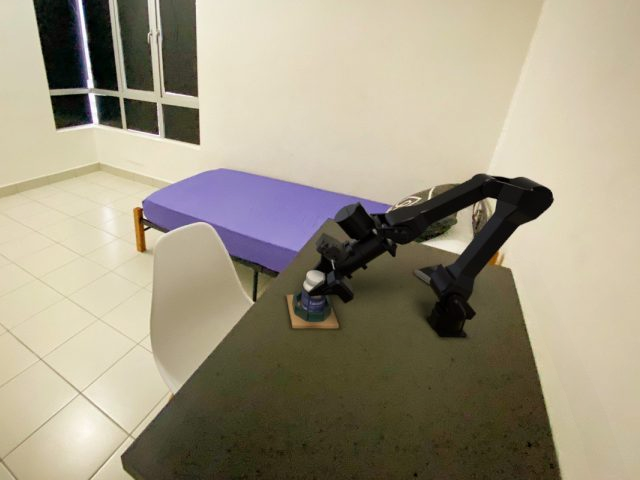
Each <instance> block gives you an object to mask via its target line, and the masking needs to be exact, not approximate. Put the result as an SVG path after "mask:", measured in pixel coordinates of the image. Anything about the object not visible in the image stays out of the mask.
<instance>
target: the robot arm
mask: <svg viewBox="0 0 640 480" xmlns="http://www.w3.org/2000/svg"><path fill="white" fill-rule="evenodd" d="M486 199H493V200H495V201H496V202H495V208H494V211H493V214H492V215H491V216H490V217H489V219H488V220H487V221H486V222H485V223H484V225H483V226H482V227H481V228H480V230H479V231H478V233H476V235H475V236H474V237H473V239H471V241H470V242H469V244H468V245H467V246H466V248H465V249H464V250H463V251H462V252H461V254H460V255H459V256H458V257H457V258H456V260H455V261H454V262H453V263H451V264H448V265H444V264H442V263H440V264H439V265H438V267H437V269H436V270H435V272H434V273H432V274H431V275H430V276H431V279H430V284H429V285H430V288H431V290H432V292H433V293H434V295H435V297H436V298H437V300H438V301H435V304H434V307H432V309H431V312H430V315H427V316H426V320H427V321H428V322H429V324H430V325H431V327H432V328H433V329H434V331H435V332H436V334H438V336H439V337H441V338H466V337H467V335H468V334H467V333H466V332H465V331H464V327H465V323H466V321H471V320H472V319H473V318H474V317H476V315H477V312H476V311H475V309H474V308H473V306H472V305H471V304H470V303H469V300H470V299H471V296H472V295H473V294H474V293H473V292H474V286H475V280H476V278H477V276H478V275H479V274H480V273H481V272H482V270H483V269H484V268H485V267H486V266H487V265H488V263H489V262H490V261H491V260H492V259H493V258H494V256H495V255H496V254H497V253H498V252H499V251H500V249H501V248H502V247H503V246H504V245H505V244H506V243H507V241H508V240H509V239H510V238H511V236H512V235H513V234H514V233H515V232H516V231H517V229H518V228H519V227H520V226H523V225H525V224H528V223H530V222H533V221H535V220H537V219H538V218H540V216H542V215H543V214H544V213H545V212H546V211H547V210H549V209H550V208H551V207H552V205H553V203H554V202H555V198H554V194H553V191H552V189H550V188H549V187H547V186H545V185H543V184H541V183H539V182H537V181H535V180H533V179H531V178H528V177H525V176H517V177H516V176H515V177H506V176H502V175H492V174H491V175H490V174H487V173H482V172H481V173H476V174H474V175H473V176H472V177H471V178H470V179H467V180H465V181H464V182H461V183H460V184H457V185H455V186H453V187H451V188H449V189H448V190H445V191H443V192H442V193H439V194H437V195H435V196H433V197H431V198H429V199H427V200H425V201H423V202H421V203H417V204H415V205H404V206H401V207H398V208H394V209H392V210H390V211H388V212H375V213H369V212H368V210H367V209H366V208H365V207H364V205H363V204H362V203H361V201H357V202H356V203H350V204H348V205H344V206H342V208H340V209H339V210H338V211H337V212H336V214H335V215H334V217H333V221H334V222H335V223H336V224H337V225H338V226H339V228H340V229H341V230H342V232H344V233H345V234H346V235H347V236H348V238H349V239H348V240H344V241H343V242H342V241H340V240H339V239H337V238H335V237H334V236H332V235H330V234H328V233H326V232H322V233H321V234H320V236H319V237H318V239H317V240H316V241H315V247H316V248H315V250H316V252H317V253H318V254H320V259H319V261H318V262H317V263H316V264H315V266H314V267H313V268H312V270H317V271H320V272H322V273H324V277H323V280H322V281H321V282H319V283H318V284H317V285H316V286H315V287H313V288H312V289H311V290H310V291H309V292H308V295H309V296H311V297H312V296H326V295H328V296H337V297H338V298H339V299H340V301H342V303H344V304H348V303H350V302H351V301H353V300H354V298H355V292H354V289H353V284H352V283H351V282H350V281H351V279H353V278H354V276H353V274H354V273H355V272H357V271H358V270H360V269H361V268H362V269H363V271H366V270H368V269H369V267H368V264H369V263H370V262H373V260H375V259H377V258H378V257H380V256H382V255H383V254H385V253H386V252H387V253H389V254H390V256H391V257H392V258H396V257H397V249H398V246H399V245H400V246H405V245H408V244H411V243H412V242H413V241H415V240H416V239H418V238H420V237H421V236H422V235H424V233H425V232H426V231H427V229H428V228H429V227H430V226H432V225H433V224H435V223H438V222H439V221H441V220H444V219H446V218H447V217H450V216H452V215H455V214H457V213H458V212H461V211H462V210H465V209H466V208H470V207H471V206H473V205H475V204H477V203H480V202H482V201H484V200H486ZM350 239H351V240H353V241H352V242H351V240H350ZM349 280H350V281H349Z"/></svg>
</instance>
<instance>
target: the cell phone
mask: <svg viewBox="0 0 640 480" xmlns="http://www.w3.org/2000/svg"><path fill="white" fill-rule="evenodd" d="M438 265H440V264H434V265H429V266H426V267H422V268H418V269H415V270H414V275H415V276H416V277H418V278H419V279H421V280H423V282H424V283H426V284H428V285H430V279H431V276H430V275H431V274H432V273H434V272H435V270H436V269H437V267H438Z"/></svg>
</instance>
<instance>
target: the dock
mask: <svg viewBox="0 0 640 480" xmlns="http://www.w3.org/2000/svg"><path fill="white" fill-rule="evenodd" d="M302 290H303V288H302V289H300V290H298V291H297V292H296V293H294V294H286V296H285V298H286V303H287V309H288V313H289V318H290V324H291V329H339V328H340V327H339V326H340V325H339V321H338V319H337V316H336V314H335V311H334V309H333V305H332V302H331V299H330V296H329V295H326V297H325V303H324V309H323V311H322V312H309V311H307V310H306V309H304V308H302V307H301V306H300V305H301V297H302Z"/></svg>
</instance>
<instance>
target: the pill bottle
mask: <svg viewBox="0 0 640 480" xmlns="http://www.w3.org/2000/svg"><path fill="white" fill-rule="evenodd" d="M323 277H324V273H322V272H320V271H317V270H313V269H312V270H309V271H307V273H306V276H305V280H304V282H303V284H302V289H303V290H302V289H301V290H302V297H301V305H300V306H301V307H302V308H304V309H306V310H307V311H309V312H322V311H323V309H324V303H325V297H326V296H312V297H311V296H309V295H308V292H309V291H310V290H311V289H312V288H313V287H315V286H316V285H317V284H318V283H319V282H321V281H322V280H323Z"/></svg>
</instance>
